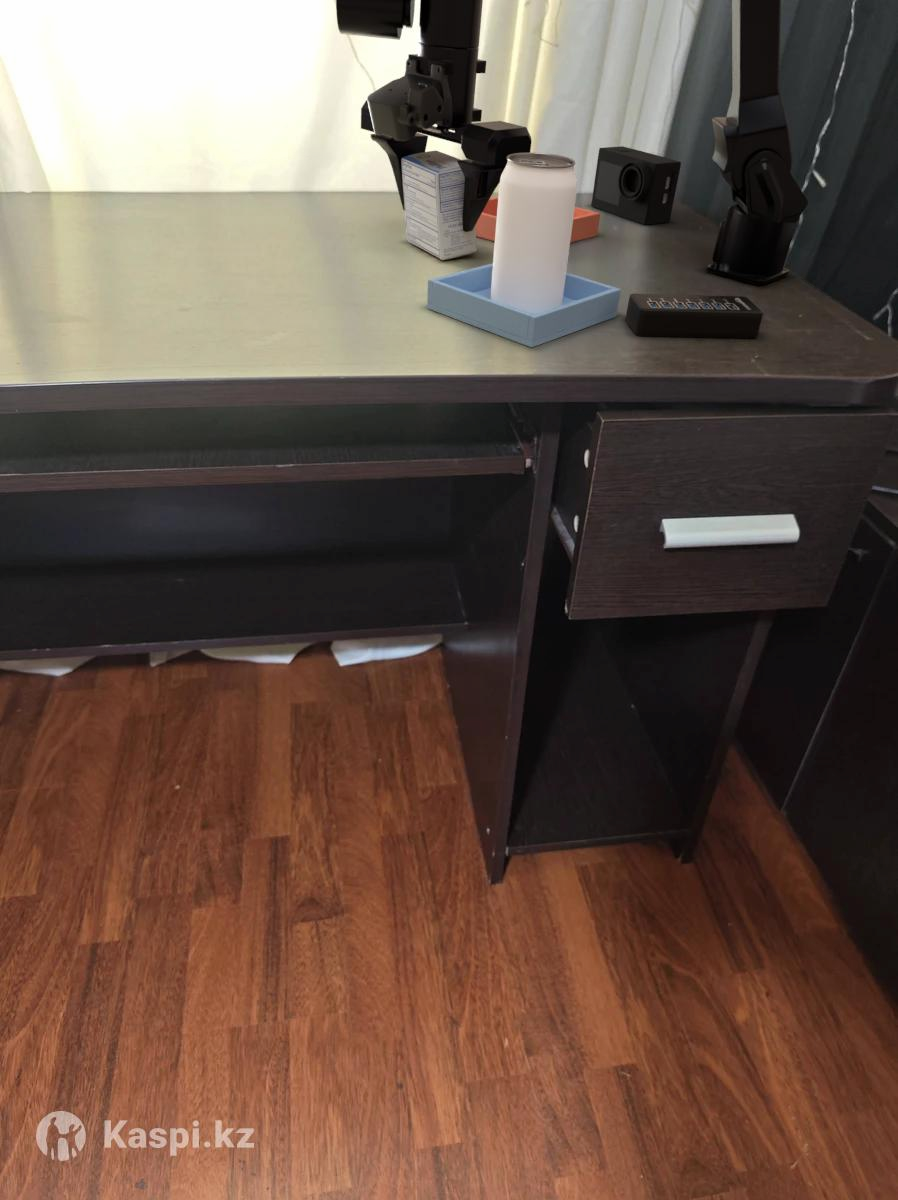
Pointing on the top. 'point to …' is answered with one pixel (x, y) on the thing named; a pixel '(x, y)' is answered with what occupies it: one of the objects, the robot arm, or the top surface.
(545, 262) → the can
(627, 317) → the multiport hub
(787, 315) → the top surface
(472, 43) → the robot arm
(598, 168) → the digital camera
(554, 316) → the blue tray
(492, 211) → the coral tray
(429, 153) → the medicine box
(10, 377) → the top surface
